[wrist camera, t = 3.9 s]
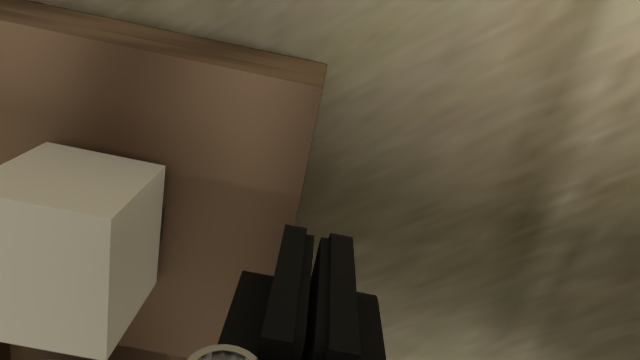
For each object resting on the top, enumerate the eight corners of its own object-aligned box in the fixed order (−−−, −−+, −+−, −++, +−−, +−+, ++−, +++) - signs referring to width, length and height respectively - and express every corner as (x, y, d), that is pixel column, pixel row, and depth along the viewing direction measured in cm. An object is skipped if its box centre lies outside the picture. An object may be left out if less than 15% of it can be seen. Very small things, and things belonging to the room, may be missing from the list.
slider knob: (165, 165, 12) (111, 219, 9) (156, 282, 13) (106, 361, 10) (46, 142, 12) (-47, 188, 9) (49, 262, 13) (-30, 336, 10)
